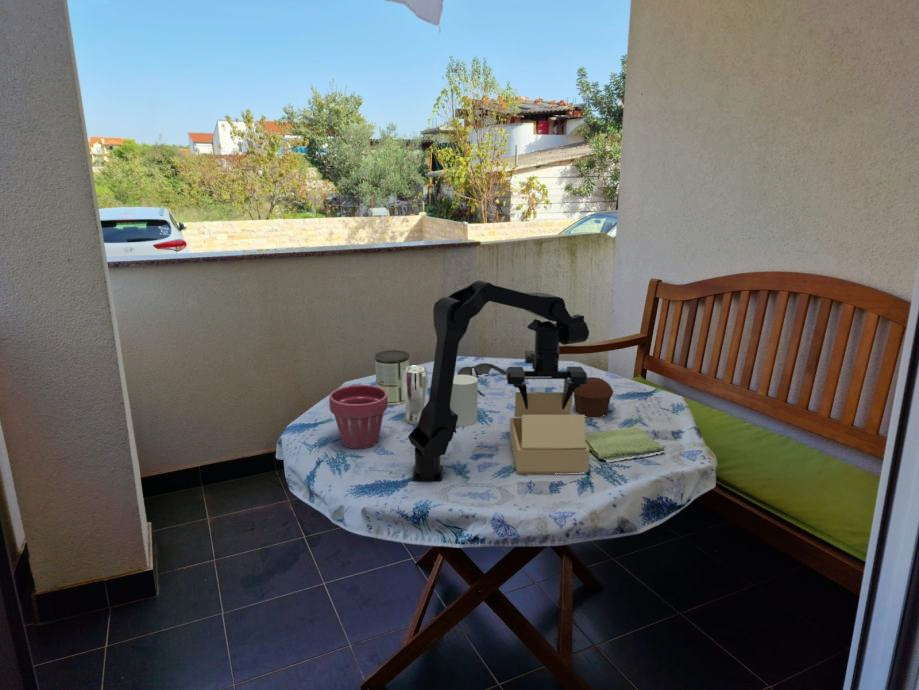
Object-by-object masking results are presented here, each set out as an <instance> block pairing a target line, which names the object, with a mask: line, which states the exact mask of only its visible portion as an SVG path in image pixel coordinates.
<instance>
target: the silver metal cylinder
mask: <svg viewBox="0 0 919 690" xmlns="http://www.w3.org/2000/svg"><path fill="white" fill-rule="evenodd" d="M402 370H403V372H402V389H403V395H404V400H405V403H404V405H405V414H404V415H405V416H404V422H405V423H406V424H408V425H415V426H417V425H418V423H419V419H420V416H421V413H422V410H423V409H424V407H425V406H426V402H427V396H428V387H429V382H428V380H429V379H428V378H429V377H428V370H427V367H426V366H423V365H421V364H419V365H413V364H411V365H409V366H406V367H404V368H403V369H402Z"/></svg>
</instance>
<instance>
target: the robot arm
mask: <svg viewBox="0 0 919 690" xmlns="http://www.w3.org/2000/svg"><path fill="white" fill-rule="evenodd" d="M489 302H492V303H497V304H500V305H504V306H510V307H512V308H513V307H514V308H517V309H521V310H524V311H526V312H528V313H529V314H532V315H534V316H536V317H538V318H542V319H545V320H547V321H541V320H539V319H537V318H535V319H532V320H533V321H532V322H530V323H529V324H528V325H527V327H526V328H527V329H528V330H531V331H534V350H525V353H524V361H525V362H524V364H527V365H528V364H532V369H533V370H524V368H523V366H508V367H507V368H506V370H505V371H506V375H505V378H506V381H507V385H513V387H514V388H515V389H516V388H518V390H519V392H520V393H521V395H522V397H523V401H524V404H525V408H526V409H528V399H527V392H528V391H527V390H528V389H527V384H526V380H563V381H564V382H563V390H562V392H563V397H562V409H564V408H565V406H566V404H567V402H568V400H569V398H570V397H571V395H572V393H573V392H574V391H575V389H576V388H577V387H580V384H587V378H588V374H587V372H586V370H584V368H583V366H567V367H566V370H559V363H560V362H559V361H560V360H559V357H560V344H561V345H562V346H565V345H574V344H579V343H584V342H586V341H587V340H588V339H589V336H590V335H589V334H590V330H589V327H588V324H587V322H586V321H585V316H584V315H582V314H574V315H571V314H570V312H569V311H568V309H567V308H566V303H565V299H564V298H562V297H560V296H556V295H554V294H549V293H547V292H522V291H519V290H515V289H511V288H507V287H503V286H499V285H496V284H492V283H490V282H487V281H486V280H485V281H484V280H480V279H479V280H476V281H474V282H472V283H471V284H469V285H468V286H466V287H464V288H460V289H459V290H457V291H456V290H455V292H453V293H451V294H450V295H448V296H443V297H441V298H439V299H438V300H437V301H435V303H434V305H433V312H432V313H433V314H432V315H433V327H434V330H435V333H436V334H435V335H436V345H435V353H434V359H433V368H432V373H431V374H432V375H431V383H430V390H429V397H428V401H427V403H425V407H424V409H423V410H422V413H421V416H420V419H419V423H418V424H417V425H415V427H414V428H413V430H412V431H411V432H409V433H410V434H409V435H408V440H409V443H410V444H411V445H413V446H414V465H413V467H414V468H413V473H412V481H413V480H414V481H415V482H420V481H421V482H425V481H426V482H427V481H428V482H429V481H430V482H431V481H432V482H435V481H437V482H438V481H439V482H441V481H443V467H444V465H442V464H441V460H442V459H441V458H442V456H444V455H446V453H447V450H448V447H449V443H450V442H451V441H452V439H453V437H454V434H456V433H457V426H456V423H457V420H458V415H457V414H456V413H454V412H453V411H452V410H451V408H450V401H451V394H452V387H453V380H454V375H455V372H456V366H457V359H458V352H459V344H460V342H461V340H462V338H463V337H464V336H465V334H466V333H467V330H468V327H469V325H470V321H471V319H472V318H474V317H475V316H476V315H478V314H479V313H480V312H481V311H482V309H483V308H484V307H485V305H487V304H488V303H489ZM554 322H555V323H554ZM573 394H574V393H573Z"/></svg>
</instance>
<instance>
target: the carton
mask: <svg viewBox="0 0 919 690" xmlns="http://www.w3.org/2000/svg"><path fill="white" fill-rule="evenodd" d="M509 418H510V420H509V442H510V447H511V452H512V457H513V462H514V467H515V472H516V475H556V474H555V473H558V474H557V475H560V474H559V473H580V472H581V473H582V472H588V473H589V466H590V465H589V462H590V452H591V450H589V448H588V446H587V444H586V442H585V448H522V417H509Z"/></svg>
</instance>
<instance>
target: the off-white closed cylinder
mask: <svg viewBox="0 0 919 690" xmlns="http://www.w3.org/2000/svg"><path fill="white" fill-rule="evenodd" d="M478 382H479V380H478V377H476V376H474V375H472V376H471V375H458V374H454V380H453V387H452V394H451V401H450V408H451V410H452V411H453V412H454V413H456V414H457V415H458V420H457V423H456V427H469V426H474V425H475V424H476V423H477V422H478V394H479V393H478V390H479V389H478V388H479V385H478V384H479V383H478Z"/></svg>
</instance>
